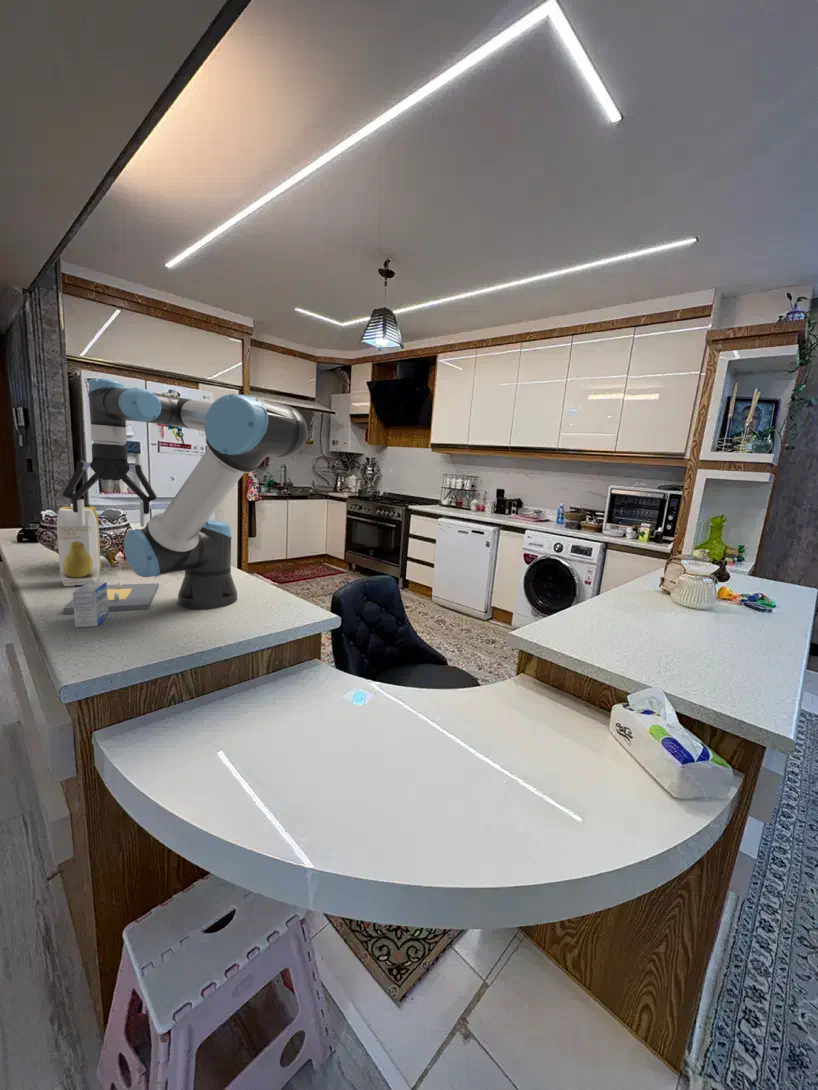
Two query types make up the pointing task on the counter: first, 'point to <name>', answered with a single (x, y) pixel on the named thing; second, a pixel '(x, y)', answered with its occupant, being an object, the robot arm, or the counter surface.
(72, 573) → the juice carton
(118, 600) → the board
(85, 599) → the medicine box
